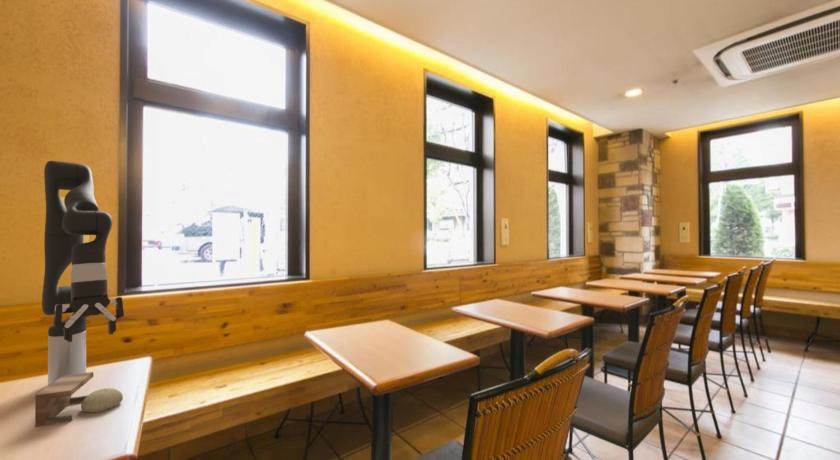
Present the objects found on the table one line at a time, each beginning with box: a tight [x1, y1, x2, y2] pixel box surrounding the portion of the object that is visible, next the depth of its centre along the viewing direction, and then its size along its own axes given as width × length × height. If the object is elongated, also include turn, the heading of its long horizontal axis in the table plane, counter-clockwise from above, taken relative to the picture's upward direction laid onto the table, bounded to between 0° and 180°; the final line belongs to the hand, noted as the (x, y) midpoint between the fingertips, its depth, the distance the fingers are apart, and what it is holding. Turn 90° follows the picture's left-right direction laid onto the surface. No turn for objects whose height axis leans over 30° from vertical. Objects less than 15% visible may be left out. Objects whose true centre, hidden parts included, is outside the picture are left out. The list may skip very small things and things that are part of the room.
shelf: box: [34, 371, 94, 428], centre depth 101 cm, size 14×7×8 cm, turn 24°
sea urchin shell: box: [80, 387, 124, 413], centre depth 104 cm, size 9×8×8 cm
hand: (90, 337), depth 98 cm, fingers open, 8 cm apart
